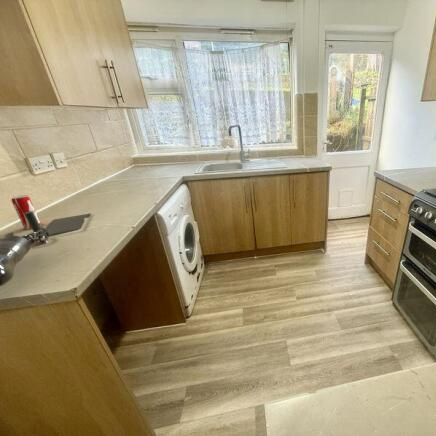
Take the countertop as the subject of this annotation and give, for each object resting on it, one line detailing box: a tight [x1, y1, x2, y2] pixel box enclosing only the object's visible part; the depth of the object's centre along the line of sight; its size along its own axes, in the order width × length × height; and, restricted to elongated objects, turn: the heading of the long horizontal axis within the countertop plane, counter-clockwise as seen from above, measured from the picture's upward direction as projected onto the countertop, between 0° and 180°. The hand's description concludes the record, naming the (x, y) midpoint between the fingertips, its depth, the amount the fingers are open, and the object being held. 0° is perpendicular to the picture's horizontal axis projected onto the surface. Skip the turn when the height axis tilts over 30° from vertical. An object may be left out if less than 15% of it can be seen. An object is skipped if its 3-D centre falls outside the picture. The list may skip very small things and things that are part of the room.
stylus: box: [24, 211, 48, 243], centre depth 97 cm, size 2×2×13 cm
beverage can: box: [11, 194, 42, 230], centre depth 112 cm, size 6×6×15 cm
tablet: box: [45, 213, 92, 237], centre depth 115 cm, size 15×22×1 cm
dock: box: [31, 238, 49, 247], centre depth 100 cm, size 7×7×1 cm
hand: (27, 232), depth 91 cm, fingers open, 8 cm apart
